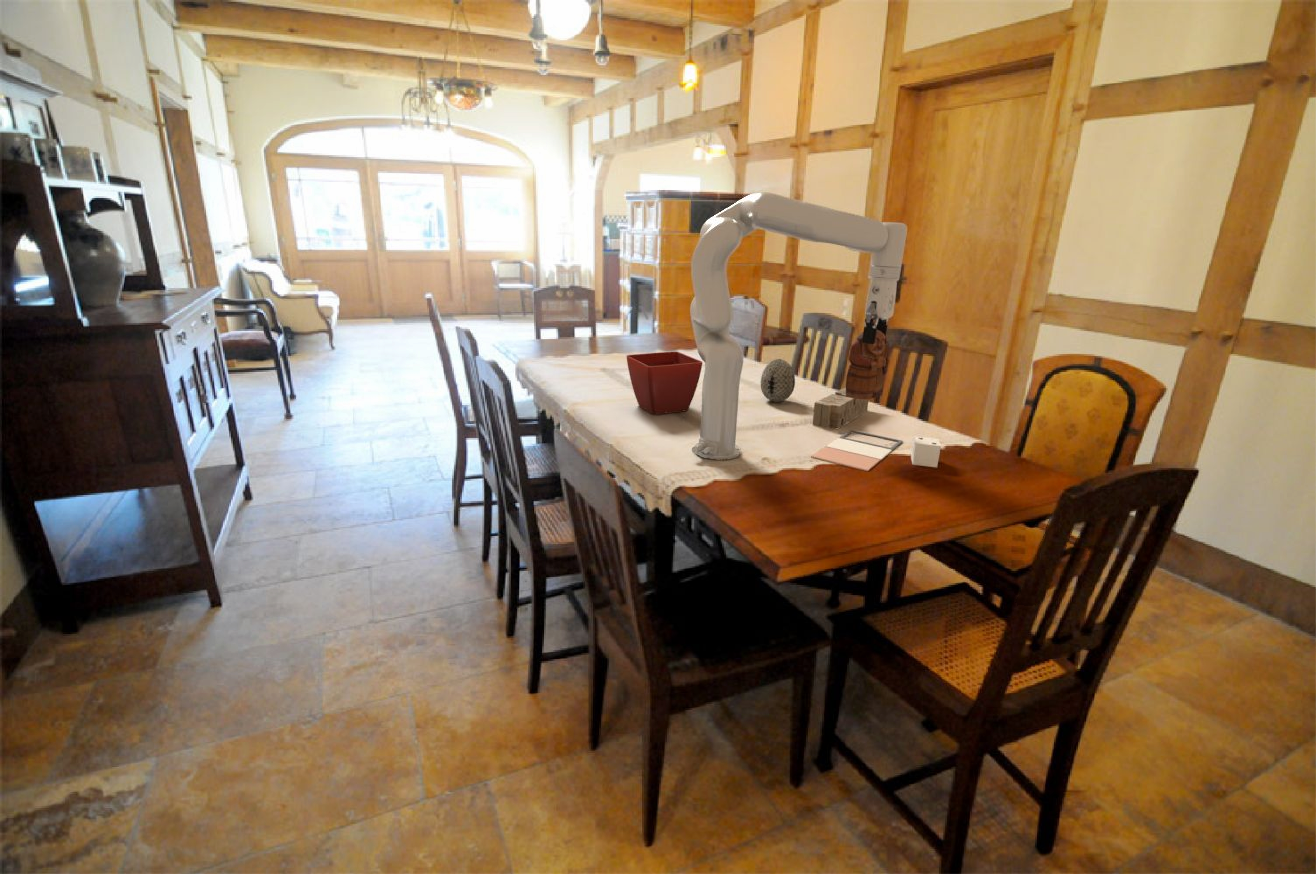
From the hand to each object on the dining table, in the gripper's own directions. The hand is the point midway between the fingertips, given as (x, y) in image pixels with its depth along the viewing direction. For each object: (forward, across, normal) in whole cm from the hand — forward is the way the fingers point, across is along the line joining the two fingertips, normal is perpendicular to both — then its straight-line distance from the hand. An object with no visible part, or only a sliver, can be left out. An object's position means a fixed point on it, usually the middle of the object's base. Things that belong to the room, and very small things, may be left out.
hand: (873, 341), depth 167 cm
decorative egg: (+31, +30, +39) cm, 58 cm away
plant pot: (+32, -3, +64) cm, 72 cm away
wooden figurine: (+15, 0, 0) cm, 15 cm away
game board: (+30, 0, -1) cm, 30 cm away
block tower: (+31, +27, +14) cm, 43 cm away
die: (+30, +2, -18) cm, 35 cm away
